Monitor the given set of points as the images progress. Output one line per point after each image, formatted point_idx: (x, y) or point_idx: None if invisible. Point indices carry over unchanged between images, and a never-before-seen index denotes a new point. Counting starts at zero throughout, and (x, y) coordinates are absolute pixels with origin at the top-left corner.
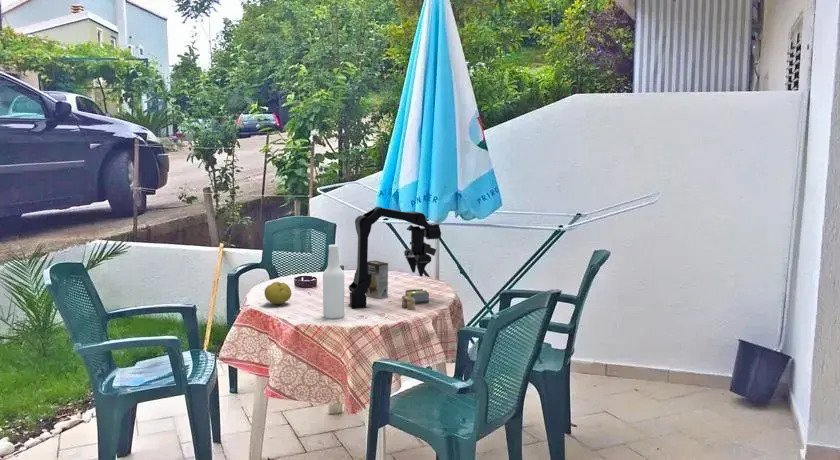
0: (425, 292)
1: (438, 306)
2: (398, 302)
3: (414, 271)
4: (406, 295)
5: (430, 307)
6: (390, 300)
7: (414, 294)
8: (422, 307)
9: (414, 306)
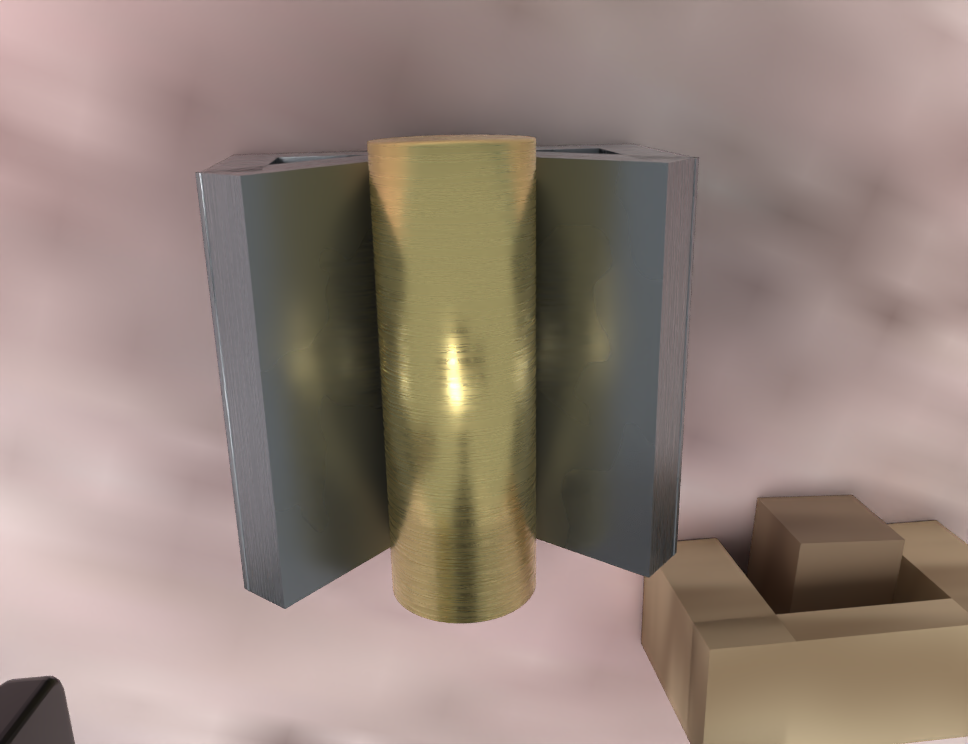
0: (526, 190)
1: (946, 59)
2: (404, 647)
3: (43, 724)
4: (717, 691)
5: (941, 236)
6: (222, 734)
7: (663, 511)
8: (879, 370)
9: (965, 552)
